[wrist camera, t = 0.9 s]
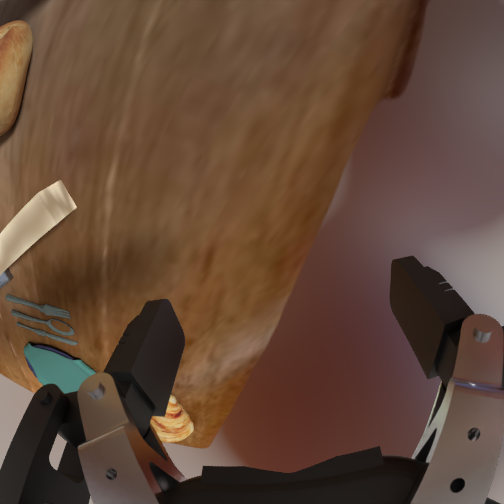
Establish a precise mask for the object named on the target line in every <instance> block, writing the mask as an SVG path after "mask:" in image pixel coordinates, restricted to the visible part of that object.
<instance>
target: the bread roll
mask: <svg viewBox="0 0 504 504" xmlns="http://www.w3.org/2000/svg"><path fill="white" fill-rule="evenodd" d="M32 47H33V36H32V31H31V28H30V27H29V25H28V24H27V23H26V22H24V21H21V20H16V21H12V22H10V23H7V24H5V25H3V26H1V27H0V136H2V135H3V134H5V133H6V132H7V131H9V129H10V128H11V127H12V125H13V124H14V122H15V119H16V117H17V114H18V112H19V108H20V104H21V99H22V94H23V91H24V84H25V81H26V75H27V70H28V66H29V62H30V58H31V53H32Z"/></svg>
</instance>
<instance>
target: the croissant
mask: <svg viewBox="0 0 504 504" xmlns="http://www.w3.org/2000/svg"><path fill="white" fill-rule="evenodd" d="M150 423H151V424H152V425H153V427H154V429H155V431H156V432H157V434H158V436H159V438H160V440H161V442H167V443H173V442H178V441H180V440H183V439H184V438H186V437H188V436H189V435H190V434H191V433H192V432H193V429H194V426H193V422H192V421H191V420H190V416H189V415H188V414H187V413H186V412H185V411H184V409H183V407H182V406H181V404H179V403H178V402H177V399H176V398H175V397H174V396H173V395H172V394H171V395H170V399H169V403H168V406H167V410H166V414H165V417H159V416H152V418H151V422H150Z"/></svg>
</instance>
